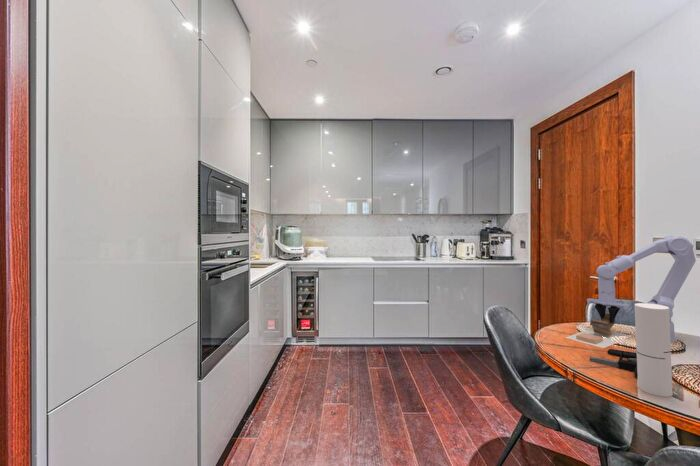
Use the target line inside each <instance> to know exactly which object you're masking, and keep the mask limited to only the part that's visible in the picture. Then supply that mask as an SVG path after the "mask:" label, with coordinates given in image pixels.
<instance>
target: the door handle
mask: <svg viewBox="0 0 700 466" xmlns="http://www.w3.org/2000/svg"><path fill="white" fill-rule="evenodd" d="M607 355H610V356H614V357H619V359H618V360H614V359H607V358H603V357H602V358H601V357H596V356H589V362H591V363H596V364H601V365H605V366H608V365H609V366H608V367H614V368H617V369H619V370H624V371H627V370H628V372H632V373H634V375H635V378H637V379H638V374H637V352H635V351H633V352H632V351H628V350H627V351H626V350H625V351H624V350H620V349H615V348H614V349H612V348H610V349H608V350H607ZM624 358H625V359H624Z"/></svg>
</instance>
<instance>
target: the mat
mask: <svg viewBox="0 0 700 466" xmlns="http://www.w3.org/2000/svg"><path fill="white" fill-rule="evenodd" d="M582 333H586V334H590V335H594V336H598V337H602V336H603V337H606V338H607V339H603V341H602V342H599V343H597V344H593V343H590V342H586V341H582V340H578V339H576V335H579V334H582ZM611 334H612V335H611V336H607V335H603V334H599V333H594V330H593V327H592V328H590V329H586V330H583V331H580V332H578V333H574V334H572V335H569V336H565V337H564V338H565V339H568V340H571V341H574V342H579V343H582V344H586V345H589V346H590V345H591V346H593V347H597V348H601V349H605V348H607V347H610V346H612V345H615V344H616V343H615V342H612V341H611V338H610V337H615V336H617V337H619V336H626V337H628V338H627V339H630V338H632V337H633V335H628V334H626V333H620V332H618V331H616V332H615V331H611Z"/></svg>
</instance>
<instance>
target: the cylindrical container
mask: <svg viewBox="0 0 700 466" xmlns="http://www.w3.org/2000/svg"><path fill="white" fill-rule="evenodd" d="M634 317H635V318H634V324H635V327H634V328H635V345H636V346H635V348H636V353H637V361H636V362H637V374H638V378H637V388H638V389H639V390H641V391H643V392H645V393H647V394H650V395H653V396H658V397H662V398H663V397H664V398H669V397H673V395H674V394H673V375H672V374H673V372H672V371H673V368H672V352H671V351H672V347H671V346H672V345H671V343H670V321H669V307H667V306H663V305H657V304H649V303H647V302H646V303H645V302H638V303H634Z"/></svg>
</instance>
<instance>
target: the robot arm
mask: <svg viewBox="0 0 700 466" xmlns="http://www.w3.org/2000/svg"><path fill="white" fill-rule="evenodd" d="M656 253H669V254H670V256H671V257H672V258H673V259H674V262H673V264H672V266H671V268H669V269H670V270H669V271H668V273H667V275H666V277H665V279H664V280H663V282H662V284H661V286H660V288H659V290H658V292H657V294H655V295H654V296H652V297H651V299H650V300H649V301H647V302H646V303H649V304H657V305H663V306H667V307H669V321H670V344H673V343H674V342H676V341H678V340H679V339H678V338H677V337H675V324H674V322H673V320H672V318H673V314H674V312H673V310H674V307H675V299H676V297H677V295H678V294H679V292H680V290H681V289H682V287H683V285H684V283H685V281H686V279H687V278H688V276H689V274H690V272H691V270H692V269H693V267H694V265H695V263H696V261H697V260H696V256H695V252H694V244H693V243H692V242H691V241H690V240H689V239H688V238H686V237H684V236H675V235H674V236H673V235H667V236H664V237H662V238H660V239H657V240H655V241H652V242H651V243H649V244H647V245H645V246H644V247H641V248H640V249H638V250H635V252H633V253H631V254H629V255H626V254H622V255H617V256H616V257H615V258H614V259H613V260H610V261H609V262H608V261H606V262H604V264H601V265H599V266H598V267H597V268H596V270H595V271H596V274H597V275H598V277H597V279H598V280H597V289H598V290H597V291H598V298H597V299H596V298H587V299H586V301H587V302H586V303H587V304H594V308H595V309H596V311H597V313H598V315H599V317H600V321H601V320H602V319H603V317H604V316H605V315H606V314H607V313H606V312H607V311H606V310H608V314H609V315H610V323H614V320H615V321H616V317H617V314H618V313H619V311H620V310H621V309H623V310H625V311H626V310H629V309H630V305H629V304H627V303H622V302H618V301H616V287H615V286H616V285H615V283H616V282H615V277H616V275H617V274H620V273H623V272H625V271H626V270H628V269H629V270H630V268H633V267H634V266H635V263H636V262H638V261H640V260H642V259H644V258H646V257H648V256H651V255H653V254H656Z"/></svg>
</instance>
